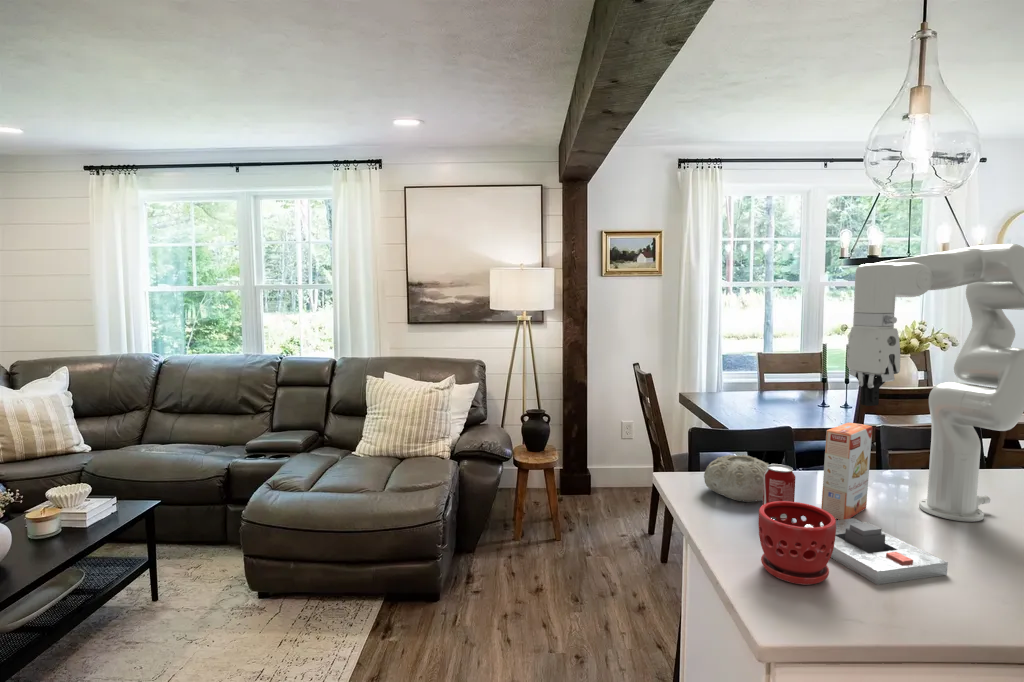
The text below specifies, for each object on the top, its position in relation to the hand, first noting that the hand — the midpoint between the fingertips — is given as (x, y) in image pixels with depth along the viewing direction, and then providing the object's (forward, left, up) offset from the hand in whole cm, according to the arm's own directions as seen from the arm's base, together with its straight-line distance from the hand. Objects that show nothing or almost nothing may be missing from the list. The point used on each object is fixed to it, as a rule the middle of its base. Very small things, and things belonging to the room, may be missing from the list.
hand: (869, 404), depth 129 cm
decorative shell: (+13, -26, -29) cm, 41 cm away
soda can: (+13, -11, -29) cm, 34 cm away
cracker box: (-5, -10, -29) cm, 31 cm away
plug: (+9, +10, -28) cm, 31 cm away
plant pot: (+29, +14, -29) cm, 43 cm away
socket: (+9, +10, -29) cm, 31 cm away
